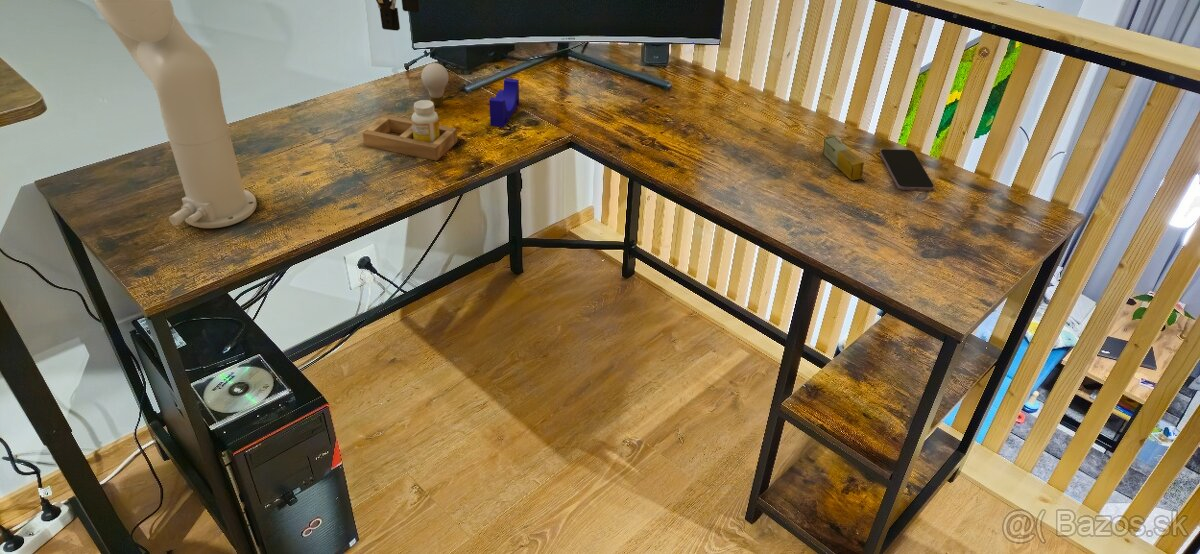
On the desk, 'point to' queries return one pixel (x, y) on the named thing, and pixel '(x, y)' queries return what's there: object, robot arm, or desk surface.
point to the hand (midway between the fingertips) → (401, 20)
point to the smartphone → (906, 170)
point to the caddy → (407, 138)
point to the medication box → (843, 158)
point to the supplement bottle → (425, 122)
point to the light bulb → (435, 82)
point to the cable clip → (504, 103)
